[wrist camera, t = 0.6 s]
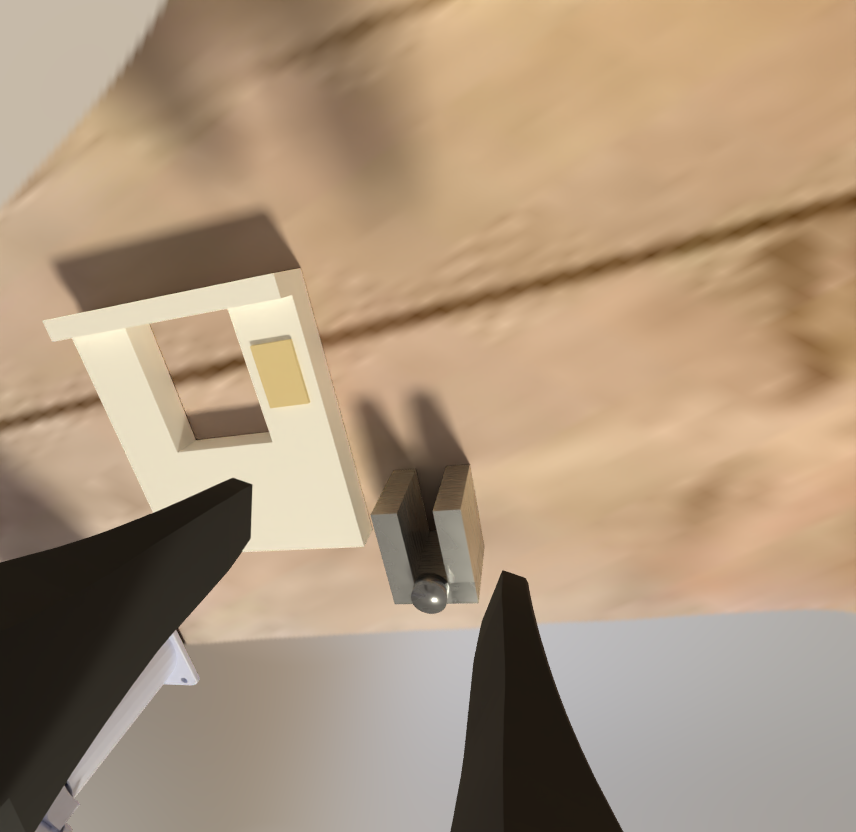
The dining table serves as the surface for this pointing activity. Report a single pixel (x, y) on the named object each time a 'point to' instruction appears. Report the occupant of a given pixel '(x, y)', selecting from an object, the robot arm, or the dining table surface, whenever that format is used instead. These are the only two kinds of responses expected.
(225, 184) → the dining table surface
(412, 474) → the clip
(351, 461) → the frame
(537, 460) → the dining table surface
